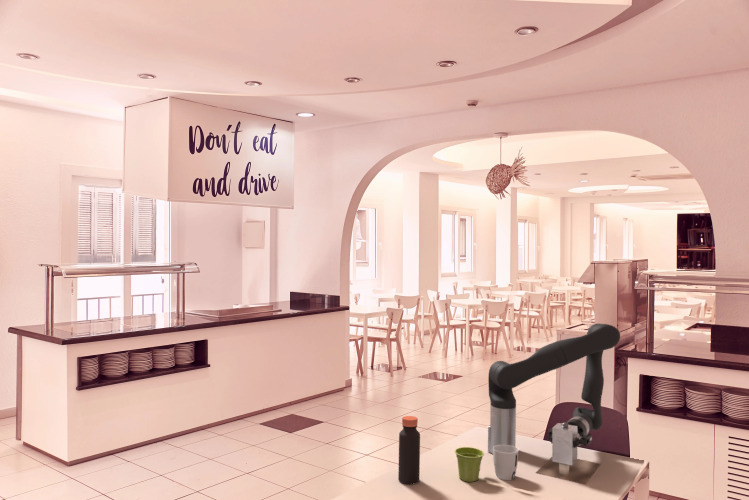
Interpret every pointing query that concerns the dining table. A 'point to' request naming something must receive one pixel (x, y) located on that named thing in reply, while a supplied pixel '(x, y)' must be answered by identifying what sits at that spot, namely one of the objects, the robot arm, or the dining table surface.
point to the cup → (505, 461)
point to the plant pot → (469, 463)
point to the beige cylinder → (563, 469)
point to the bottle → (409, 451)
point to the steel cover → (564, 443)
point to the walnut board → (570, 470)
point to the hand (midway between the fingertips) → (563, 442)
